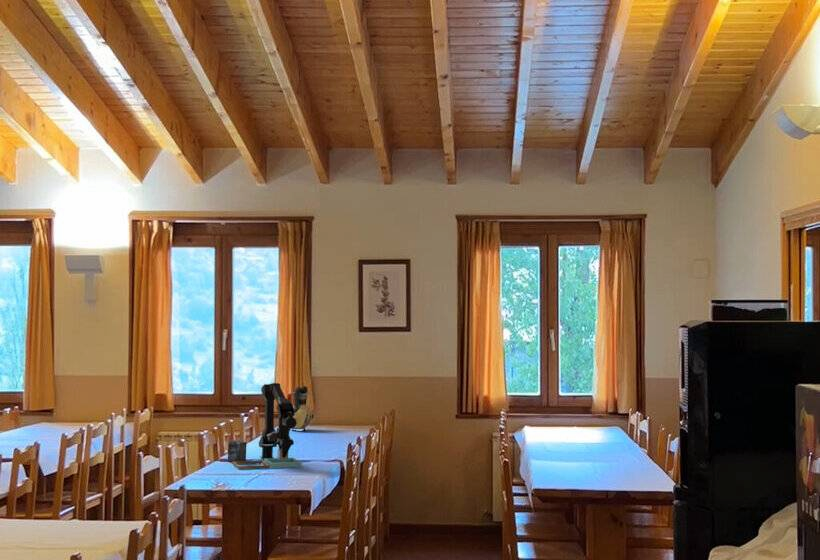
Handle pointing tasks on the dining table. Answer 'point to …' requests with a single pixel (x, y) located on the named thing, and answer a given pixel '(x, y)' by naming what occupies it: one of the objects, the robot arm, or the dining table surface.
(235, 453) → the box
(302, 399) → the amphora
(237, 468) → the corral
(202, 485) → the dining table surface
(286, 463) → the bin
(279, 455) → the slate block
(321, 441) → the dining table surface
